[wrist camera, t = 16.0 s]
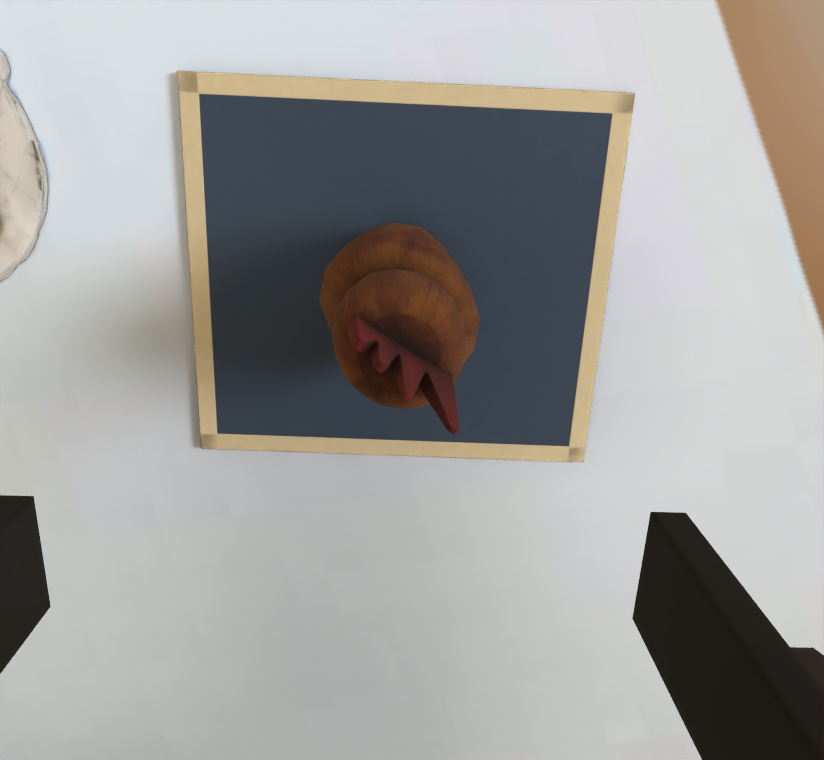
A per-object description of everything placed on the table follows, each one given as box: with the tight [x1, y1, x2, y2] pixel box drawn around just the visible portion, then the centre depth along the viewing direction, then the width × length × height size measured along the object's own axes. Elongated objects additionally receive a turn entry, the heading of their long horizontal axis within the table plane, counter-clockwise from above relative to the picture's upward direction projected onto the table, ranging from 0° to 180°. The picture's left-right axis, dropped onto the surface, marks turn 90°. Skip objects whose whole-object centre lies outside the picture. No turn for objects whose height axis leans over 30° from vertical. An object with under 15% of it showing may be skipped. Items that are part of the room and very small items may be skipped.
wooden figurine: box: [320, 222, 480, 435], centre depth 26 cm, size 7×6×15 cm
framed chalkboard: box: [178, 71, 635, 462], centre depth 34 cm, size 20×18×1 cm
